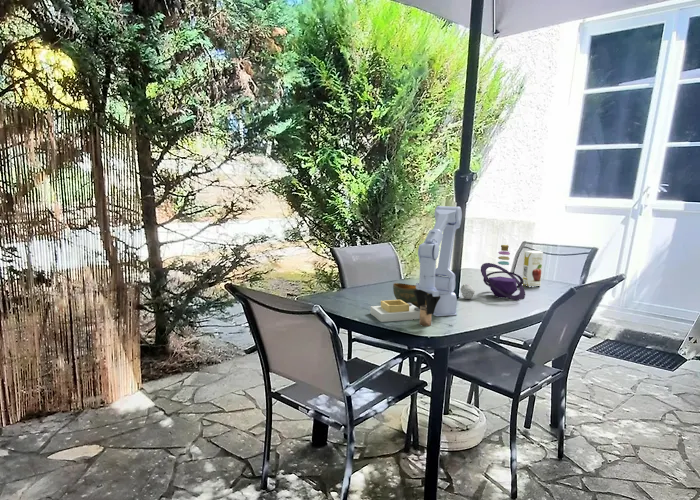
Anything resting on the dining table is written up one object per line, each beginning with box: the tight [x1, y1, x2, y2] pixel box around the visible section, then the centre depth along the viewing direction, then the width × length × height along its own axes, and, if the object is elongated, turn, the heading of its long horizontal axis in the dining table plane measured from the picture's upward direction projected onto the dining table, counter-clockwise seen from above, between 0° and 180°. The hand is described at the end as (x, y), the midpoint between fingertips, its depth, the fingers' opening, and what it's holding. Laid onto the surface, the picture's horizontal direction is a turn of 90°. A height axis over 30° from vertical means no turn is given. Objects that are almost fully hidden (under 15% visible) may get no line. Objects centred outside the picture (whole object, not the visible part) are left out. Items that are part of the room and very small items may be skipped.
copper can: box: [419, 305, 433, 327], centre depth 169 cm, size 4×4×7 cm
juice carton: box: [521, 250, 544, 287], centre depth 241 cm, size 8×9×19 cm
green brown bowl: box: [392, 282, 429, 307], centre depth 198 cm, size 13×20×10 cm, turn 28°
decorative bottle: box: [480, 244, 526, 301], centre depth 215 cm, size 22×21×25 cm
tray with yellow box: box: [370, 299, 420, 323], centre depth 180 cm, size 18×12×6 cm, turn 108°
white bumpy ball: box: [460, 283, 475, 300], centre depth 211 cm, size 6×7×7 cm
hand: (425, 311), depth 169 cm, fingers open, 7 cm apart
